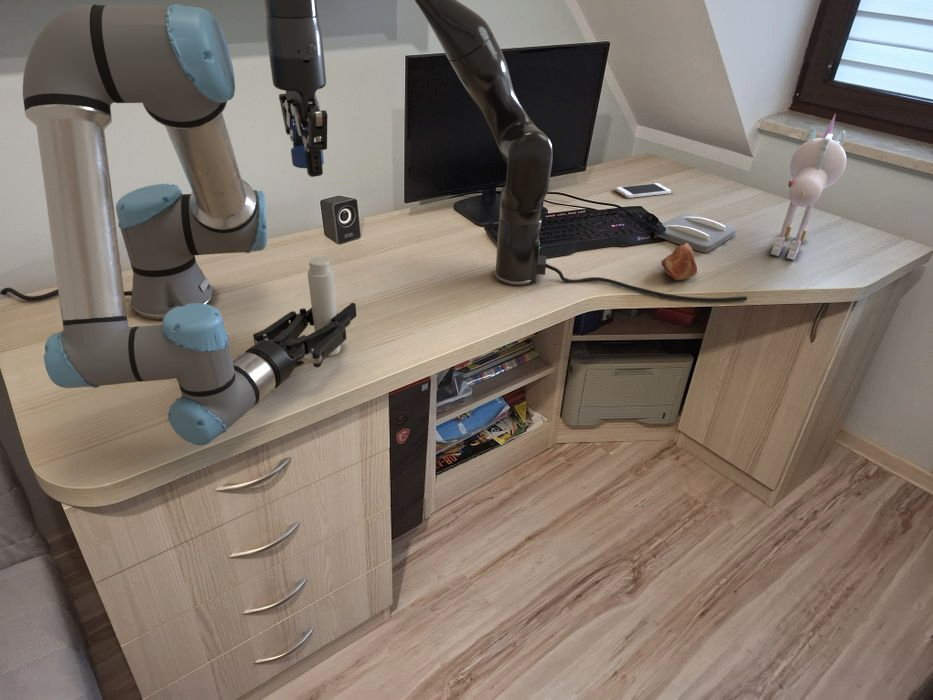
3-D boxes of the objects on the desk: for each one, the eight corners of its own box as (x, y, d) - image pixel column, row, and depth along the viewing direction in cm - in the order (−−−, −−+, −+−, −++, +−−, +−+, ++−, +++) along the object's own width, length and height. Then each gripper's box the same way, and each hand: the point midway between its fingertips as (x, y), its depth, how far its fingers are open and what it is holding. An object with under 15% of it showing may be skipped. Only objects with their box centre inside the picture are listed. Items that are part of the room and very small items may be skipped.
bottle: (332, 358, 115) (322, 268, 105) (312, 352, 117) (301, 263, 107) (345, 346, 119) (336, 257, 109) (325, 341, 120) (315, 253, 110)
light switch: (708, 241, 156) (653, 223, 165) (705, 253, 158) (650, 234, 167) (740, 223, 167) (687, 206, 176) (737, 234, 169) (684, 217, 178)
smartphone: (614, 190, 195) (615, 187, 194) (657, 185, 199) (658, 182, 199) (627, 198, 189) (628, 195, 189) (671, 193, 194) (671, 190, 193)
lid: (298, 157, 101) (297, 143, 100) (327, 160, 100) (326, 146, 99) (287, 167, 97) (286, 152, 96) (318, 169, 96) (316, 154, 95)
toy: (826, 222, 178) (867, 110, 161) (806, 269, 152) (852, 142, 135) (779, 212, 183) (814, 103, 167) (751, 256, 157) (789, 132, 141)
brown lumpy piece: (670, 275, 139) (676, 230, 139) (641, 277, 146) (647, 234, 147) (708, 285, 146) (713, 242, 146) (678, 286, 153) (683, 245, 153)
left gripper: (220, 375, 105) (306, 312, 123) (306, 405, 100) (384, 335, 117) (211, 337, 101) (302, 278, 119) (301, 366, 95) (382, 299, 113)
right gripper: (254, 45, 93) (270, 161, 103) (287, 61, 83) (302, 188, 93) (303, 42, 97) (315, 155, 106) (341, 57, 87) (350, 180, 96)
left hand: (342, 306), depth 118 cm, fingers closed on bottle, 4 cm apart
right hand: (309, 170), depth 99 cm, fingers closed on lid, 4 cm apart
